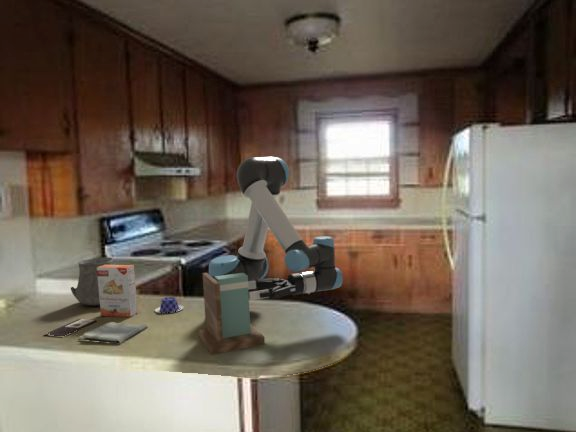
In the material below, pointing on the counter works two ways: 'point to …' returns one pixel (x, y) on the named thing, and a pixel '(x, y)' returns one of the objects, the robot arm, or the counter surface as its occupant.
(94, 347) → the counter surface
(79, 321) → the chocolate bar
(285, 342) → the counter surface
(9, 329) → the counter surface
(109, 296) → the cracker box
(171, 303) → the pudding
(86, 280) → the vessel
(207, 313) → the brown angled piece
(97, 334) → the dish towel
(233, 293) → the book
